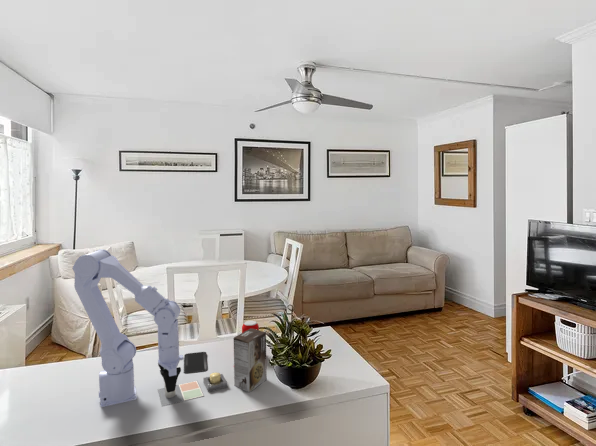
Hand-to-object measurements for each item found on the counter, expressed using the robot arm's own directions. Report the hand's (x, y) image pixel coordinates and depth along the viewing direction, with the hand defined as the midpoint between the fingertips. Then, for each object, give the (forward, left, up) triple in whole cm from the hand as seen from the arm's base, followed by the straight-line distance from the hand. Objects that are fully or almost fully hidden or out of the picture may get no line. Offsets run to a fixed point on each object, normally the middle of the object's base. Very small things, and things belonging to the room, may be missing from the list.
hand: (170, 388), depth 114 cm
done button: (+14, 0, -1) cm, 14 cm away
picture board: (+3, 0, -3) cm, 4 cm away
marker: (0, 0, -2) cm, 2 cm away
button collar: (+13, 0, -3) cm, 14 cm away
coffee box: (+24, -3, -3) cm, 24 cm away
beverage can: (+31, +17, -3) cm, 35 cm away
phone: (+11, +18, -3) cm, 21 cm away
